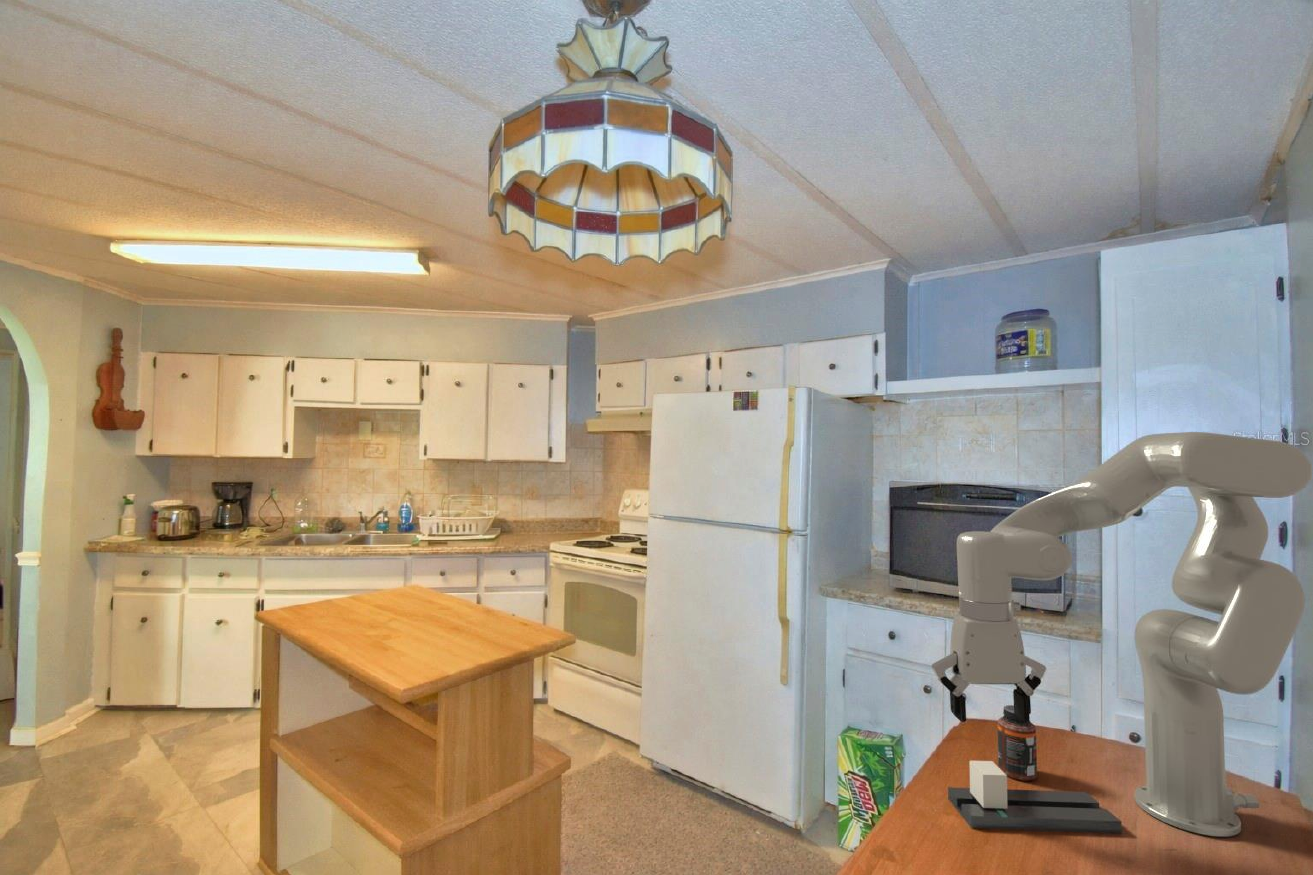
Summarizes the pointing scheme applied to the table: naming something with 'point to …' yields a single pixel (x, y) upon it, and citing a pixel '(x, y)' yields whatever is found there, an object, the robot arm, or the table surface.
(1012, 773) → the supplement bottle
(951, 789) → the fader housing
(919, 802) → the table surface
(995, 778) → the fader tab
